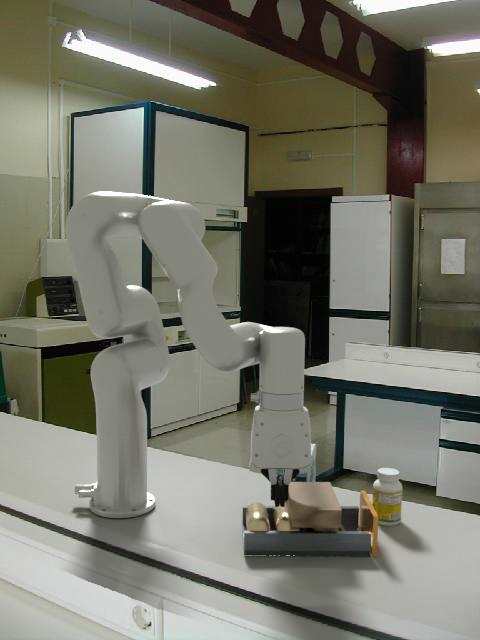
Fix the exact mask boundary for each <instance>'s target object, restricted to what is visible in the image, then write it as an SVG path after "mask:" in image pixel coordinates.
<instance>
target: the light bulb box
mask: <svg viewBox="0 0 480 640" xmlns="http://www.w3.org/2000/svg"><path fill="white" fill-rule="evenodd" d="M310 464H311V471H310V472H306V473H302V474H301V473H300V474H298V475H297V476H296V477H295V478H294V479H293V480H292V481H291V482H316V475H317V474H316V472H317V470H316V469H317V444H316V443H311V462H310ZM276 470H277V471H276V476H277V477H278V480H279V484H280V480H281V477H282V476H283V471H284V469H276ZM285 503H287V500H285Z"/></svg>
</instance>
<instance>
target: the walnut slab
mask: <svg viewBox="0 0 480 640" xmlns="http://www.w3.org/2000/svg"><path fill="white" fill-rule="evenodd" d="M287 505H288V509H289V514H290V518H291V523H292V527H302V528H341V517H342V510H341V507H340V506H341V505H340V503H339V500H338V497H337V496H336V493H335V490H334V488H333V485H332V483H331V482H330V481H315V482H291V483H290V484H289V494H288V500H287Z"/></svg>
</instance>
